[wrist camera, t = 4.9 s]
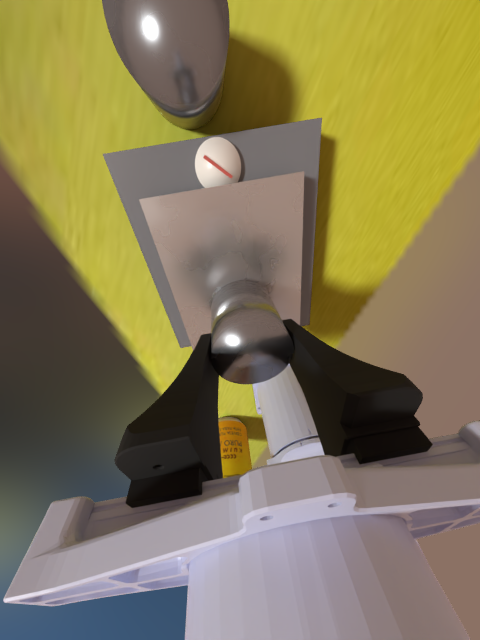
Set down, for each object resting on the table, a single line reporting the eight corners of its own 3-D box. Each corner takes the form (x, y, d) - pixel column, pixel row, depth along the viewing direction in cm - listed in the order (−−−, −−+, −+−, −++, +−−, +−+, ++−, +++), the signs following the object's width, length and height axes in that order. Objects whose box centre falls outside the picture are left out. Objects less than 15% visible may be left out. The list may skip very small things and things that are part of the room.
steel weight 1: (229, 123, 13) (237, 95, 9) (159, 134, 13) (134, 112, 9) (214, 5, 10) (216, -111, 6) (127, 19, 10) (72, -89, 6)
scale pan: (296, 326, 18) (299, 331, 17) (194, 344, 18) (193, 350, 17) (299, 172, 12) (304, 171, 11) (142, 198, 12) (138, 199, 11)
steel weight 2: (267, 332, 17) (285, 382, 13) (211, 333, 16) (211, 386, 12) (275, 280, 14) (302, 322, 10) (210, 279, 14) (210, 323, 10)
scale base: (299, 310, 21) (311, 327, 19) (183, 331, 21) (179, 351, 19) (304, 127, 13) (325, 115, 11) (119, 158, 13) (98, 153, 11)
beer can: (238, 410, 30) (257, 576, 17) (250, 430, 33) (273, 581, 20) (198, 421, 30) (189, 591, 18) (214, 441, 33) (215, 594, 21)
